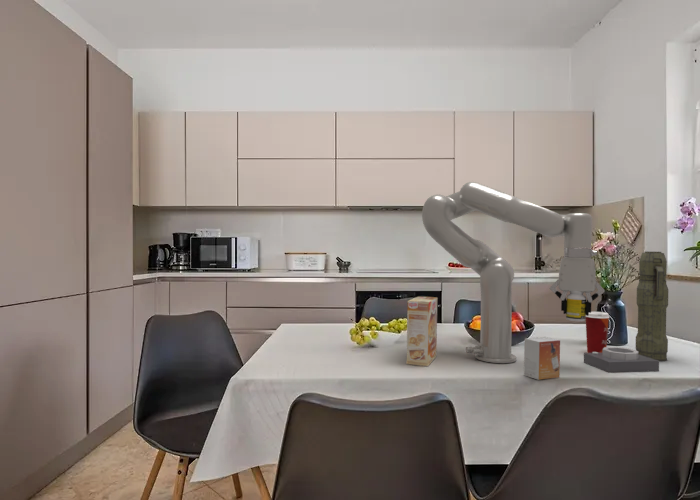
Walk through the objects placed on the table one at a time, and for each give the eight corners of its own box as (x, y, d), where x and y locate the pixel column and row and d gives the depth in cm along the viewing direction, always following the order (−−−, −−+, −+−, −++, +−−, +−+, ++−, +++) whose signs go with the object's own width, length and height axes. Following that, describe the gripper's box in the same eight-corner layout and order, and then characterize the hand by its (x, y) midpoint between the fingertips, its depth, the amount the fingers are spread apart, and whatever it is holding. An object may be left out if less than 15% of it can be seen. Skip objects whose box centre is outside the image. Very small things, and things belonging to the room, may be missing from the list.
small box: (538, 380, 132) (538, 341, 131) (523, 375, 137) (523, 338, 137) (560, 377, 135) (560, 339, 135) (544, 372, 140) (545, 336, 140)
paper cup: (612, 357, 161) (613, 314, 160) (587, 355, 162) (588, 313, 162) (605, 352, 168) (605, 311, 168) (581, 350, 170) (581, 310, 170)
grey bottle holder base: (609, 372, 141) (609, 355, 141) (583, 362, 153) (583, 346, 153) (658, 371, 143) (659, 354, 143) (630, 361, 155) (630, 345, 155)
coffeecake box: (428, 366, 145) (429, 301, 145) (405, 364, 148) (406, 300, 148) (437, 356, 159) (438, 296, 159) (416, 354, 162) (416, 295, 162)
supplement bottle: (583, 322, 143) (584, 289, 143) (564, 320, 146) (564, 287, 146) (587, 320, 147) (588, 288, 147) (568, 318, 151) (569, 286, 150)
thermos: (647, 362, 153) (649, 251, 153) (628, 354, 165) (629, 251, 165) (676, 363, 153) (678, 252, 153) (654, 354, 165) (656, 251, 165)
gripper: (609, 254, 146) (607, 315, 146) (548, 253, 154) (546, 310, 154) (609, 255, 139) (608, 318, 140) (545, 253, 147) (544, 313, 147)
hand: (576, 313), depth 147 cm, fingers closed on supplement bottle, 5 cm apart
